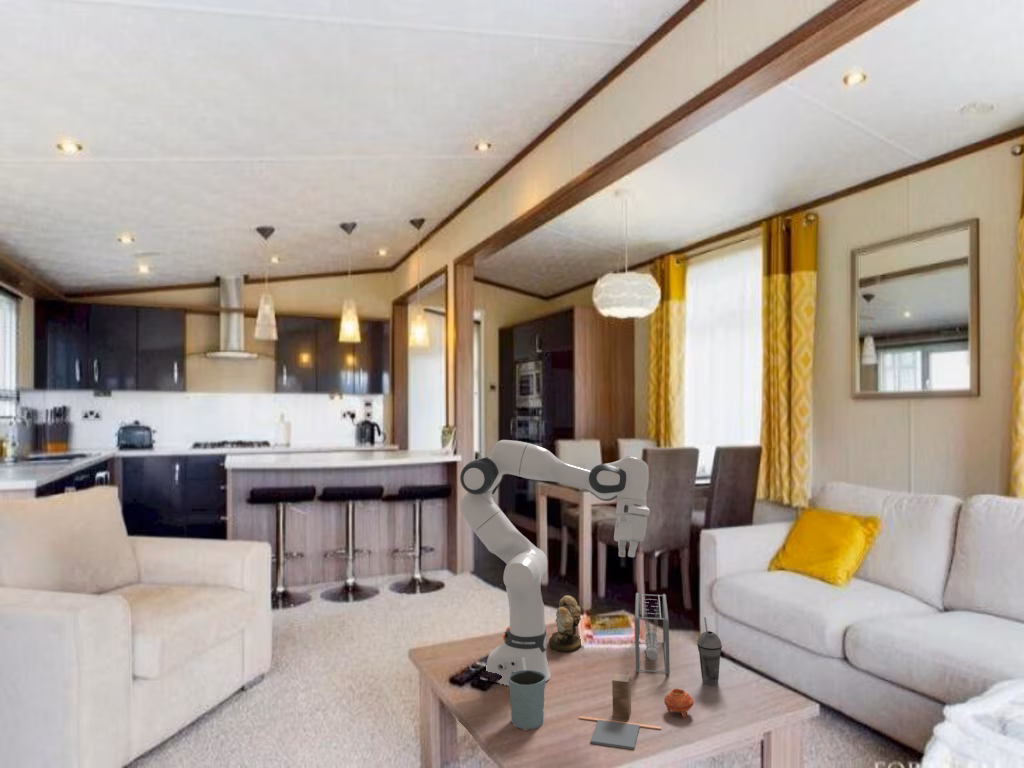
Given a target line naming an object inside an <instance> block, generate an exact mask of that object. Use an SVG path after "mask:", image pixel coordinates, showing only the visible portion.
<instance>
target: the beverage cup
mask: <svg viewBox="0 0 1024 768" xmlns="http://www.w3.org/2000/svg"><path fill="white" fill-rule="evenodd" d="M703 619H704V626H705V628H704V629H705V631H703V632H702V633H700V635H699V636H698V640H697V650H698V653H699V663H700V664H699V665H700V670H701V671H700V672H701V679H702V684H703V685H704V686H706V687H710V688H711V687H714V688H715V687H717V686H718V685H719V678H720V661H721V652H722V648H723V645H722V641H721V638H720V637H719V636H718V634H717V633H715V632H713V631H711V630H710V631H709V630H708V625H707V618H706V616H704V617H703Z"/></svg>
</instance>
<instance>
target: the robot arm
mask: <svg viewBox="0 0 1024 768" xmlns="http://www.w3.org/2000/svg"><path fill="white" fill-rule="evenodd" d="M649 470H650V469H649V466H648V464H647V462H646V461H644V460H643V459H641V458H638V457H635V456H630V455H629V456H628V455H627V456H624V457H623V458H620V459H619V460H616V461H613V462H607V463H601V464H598V465H595V466H594V467H593V468H592V469H591V470H588V469H586V468H585V469H584V468H582V467H579V466H575V465H571V464H568V463H566V462H564V461H562V460H561V459H560V458H558V457H557V456H556V455H555V454H553V452H551V451H550V450H548V449H547V448H544V447H541V446H539V445H537V444H533V443H529V442H524V441H521V440H520V441H519V440H510V439H501V440H499V441H497V442H495V444H494V445H493V447H492V450H491V453H490V456H488V457H487V456H486V457H480V458H479V457H478V458H477V459H474V460H473V461H469V462H468V463H466V464H465V466H463V468H462V470H461V472H460V476H459V478H460V483H461V486H462V488H463V489H464V490H465V491H466V492H467V493H466V494H465V495H464V496H463V497H462V499H461V500H460V502H459V503H460V504H459V509H460V512H461V513H462V515H463V517H464V519H465V521H466V522H467V524H468V525H469V527H470V528H471V530H472V532H473V533H475V535H476V536H477V537H478V539H479V540H480V541H481V543H482V544H483V545H484V546H485V548H486V549H487V550H488V552H490V553H492V554H493V555H495V556H496V557H498V558H500V559H501V561H503V562H504V563H505V564H506V565H505V568H504V571H503V583H504V585H505V589H506V595H507V599H508V600H507V601H508V605H509V626H508V627H506V630H505V631H504V634H503V635H502V639H503V640H504V641H503V642H501V643H500V644H498V645H497V646H496V647H495V648H493V650H492V651H491V652H490V653H489V655H488V656H487V660H486V664H487V665H486V664H485V665H486V671H488V672H492V673H497V674H499V675H501V676H502V678H501V679H500V680H499V683H500V684H499V685H502V684H504V685H503V686H506V685H507V686H506V687H509V680H508V677H509V675H510V674H512V673H514V672H517V671H521V670H533V671H538V672H541V673H543V674H544V675H545V677H546V680H545V683H546V682H547V681H548V680H550V679H551V677H552V676H551V675H552V674H551V672H550V668H549V664H548V658H547V645H548V641H547V640H548V639H547V630H546V627H545V626H546V624H545V622H546V621H545V616H546V615H545V604H544V602H543V596H542V590H541V588H542V587H541V584H542V583H541V582H542V579H543V577H544V576H545V574H546V572H547V570H548V558H547V556H546V553H545V552H544V551H543V550H542V549H541V548H539V547H537V546H536V545H535V544H534V543H532V542H531V541H530V540H529V539H528V538H527V537H526V536H524V535H523V534H522V533H521V532H520V531H519V529H517V528H516V526H515V525H514V524H513V523H512V522H511V520H510V519H509V518H508V517H507V515H506V514H505V513H504V512H503V510H502V509H501V507H500V506H498V505H497V504H496V501H495V500H494V499H493V495H494V494H495V493H496V492H497V490H498V489H499V486H500V484H501V483H502V482H503V480H504V475H512V476H517V477H521V478H523V479H527V480H528V479H529V480H536V481H544V482H555V483H561V484H565V485H569V486H572V487H575V488H577V489H578V488H580V489H582V490H586V491H588V492H590V493H591V494H592V495H593V496H595V498H597V499H599V500H600V501H603V502H604V501H605V502H610V501H613V500H616V499H617V500H616V508H615V510H616V511H615V514H616V515H617V516H618V517H616V520H615V526H614V534H613V541H614V542H617V546H618V557H620V558H626V554H627V557H629V558H635V557H636V552H637V549H638V546H639V542H643V541H644V540H645V538H646V534H647V527H648V517H650V513H651V511H650V508H649V507H647V506H648V505H647V502H648V501H647V491H648V489H649V480H650V479H649V477H650V476H649V474H650V473H649V472H650V471H649ZM627 543H629V548H628V551H626V546H627ZM626 552H627V553H626Z"/></svg>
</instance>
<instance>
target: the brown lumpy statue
mask: <svg viewBox="0 0 1024 768" xmlns="http://www.w3.org/2000/svg"><path fill="white" fill-rule="evenodd" d="M558 606H559V607H558V608H557V610H556V615H555V617H556V618H555V623H556V627H557V629H556V631H555V632H553V633H552V635H551V637H549V638H548V639H549V640H548V646H549V647H550V648H551V649H552V651H556V652H558V653H573V652H576V651H578V650H579V649H580V648H582V645H581V639H582V638H581V639H580V637H581V636H580V635H579V634H578V633H577V627H578V626H579V624H580V621H581V620H582V618H581V613H582V610H581V609H582V608H581V607H580V605H578V602H577V600H576V598H574V597H573V596H571V595H564V596H562V598H560V600H559V605H558Z"/></svg>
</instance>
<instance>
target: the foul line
mask: <svg viewBox="0 0 1024 768" xmlns="http://www.w3.org/2000/svg"><path fill="white" fill-rule="evenodd" d="M578 719H579V720H586V721H592V722H598V720H605V721H612V722H620V723H627V724H635V725H640V728H644V729H645V728H646V729H652V730H659V731H661V730H662V726H658V725H657V726H656V725H652V724H643V723H635V722H628V721H627V722H626V721H620V720H612V719H606V718H605V719H604V718H599V717H598V718H597V717H589V716H583V715H582V716H581V715H580V716H578Z"/></svg>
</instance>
